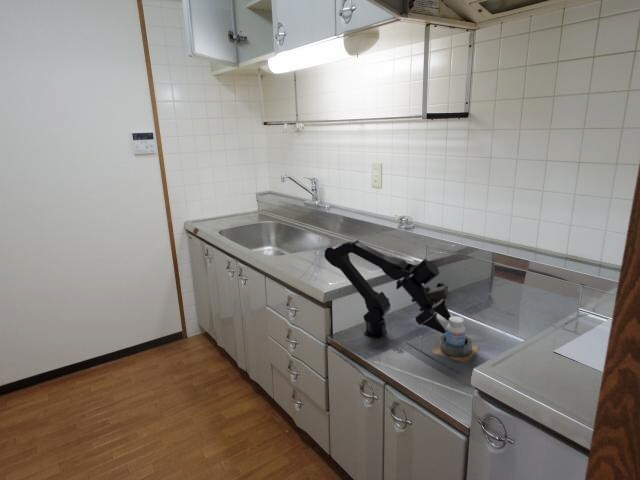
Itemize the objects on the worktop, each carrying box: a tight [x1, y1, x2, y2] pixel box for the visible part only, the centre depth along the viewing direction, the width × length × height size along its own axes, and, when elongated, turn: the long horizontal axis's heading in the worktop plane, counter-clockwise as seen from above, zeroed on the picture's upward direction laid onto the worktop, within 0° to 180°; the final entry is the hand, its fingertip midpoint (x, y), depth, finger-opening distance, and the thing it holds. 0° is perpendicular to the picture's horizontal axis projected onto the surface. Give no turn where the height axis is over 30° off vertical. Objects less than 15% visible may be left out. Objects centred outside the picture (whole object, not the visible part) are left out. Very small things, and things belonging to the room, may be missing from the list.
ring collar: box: [439, 333, 473, 358], centre depth 135 cm, size 10×10×4 cm
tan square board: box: [431, 343, 480, 364], centre depth 136 cm, size 12×12×1 cm
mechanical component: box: [435, 312, 454, 330], centre depth 154 cm, size 10×4×10 cm
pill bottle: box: [445, 315, 466, 346], centre depth 134 cm, size 6×6×11 cm
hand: (448, 326), depth 135 cm, fingers open, 9 cm apart
